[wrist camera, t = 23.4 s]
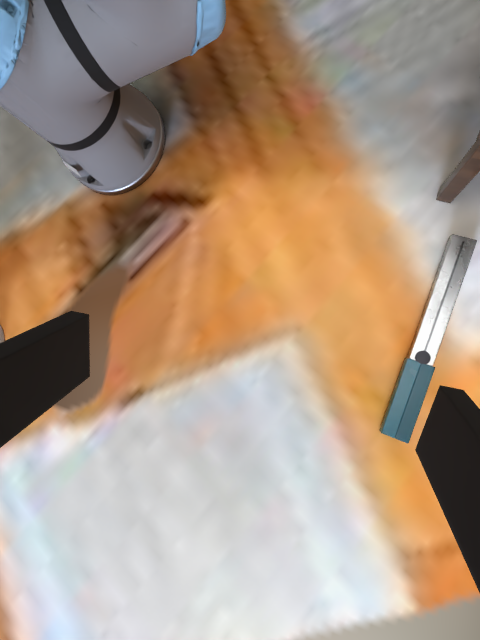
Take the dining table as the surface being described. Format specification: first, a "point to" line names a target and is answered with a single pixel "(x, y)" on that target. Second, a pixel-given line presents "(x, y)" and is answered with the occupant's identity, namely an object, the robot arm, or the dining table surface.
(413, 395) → the blue grooved block
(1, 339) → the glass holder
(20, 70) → the robot arm
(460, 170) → the stand
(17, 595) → the dining table surface
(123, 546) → the dining table surface
